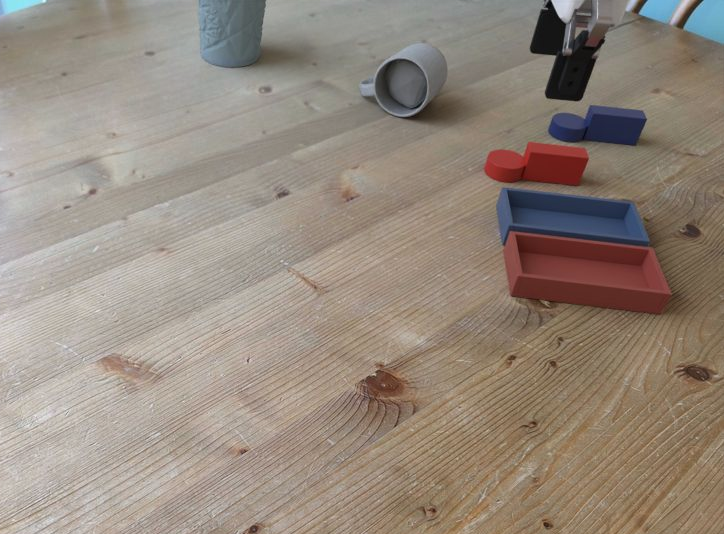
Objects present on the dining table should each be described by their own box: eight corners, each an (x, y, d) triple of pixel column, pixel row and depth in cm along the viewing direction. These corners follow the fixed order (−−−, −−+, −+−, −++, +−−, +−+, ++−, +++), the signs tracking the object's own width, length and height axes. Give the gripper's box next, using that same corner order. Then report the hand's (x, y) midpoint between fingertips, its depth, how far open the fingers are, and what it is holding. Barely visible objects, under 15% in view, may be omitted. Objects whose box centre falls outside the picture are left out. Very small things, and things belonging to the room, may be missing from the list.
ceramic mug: (445, 100, 100) (457, 43, 95) (423, 124, 95) (434, 65, 90) (372, 81, 104) (380, 25, 99) (347, 103, 99) (354, 45, 94)
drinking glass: (183, 59, 106) (181, -31, 98) (213, 35, 113) (214, -52, 104) (249, 75, 103) (253, -17, 95) (276, 48, 110) (282, -40, 102)
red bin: (642, 267, 76) (653, 247, 74) (660, 314, 70) (672, 294, 69) (503, 250, 77) (509, 230, 75) (510, 296, 71) (517, 275, 70)
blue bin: (625, 221, 82) (634, 201, 80) (640, 261, 76) (650, 241, 75) (495, 206, 83) (501, 186, 81) (502, 245, 77) (508, 225, 76)
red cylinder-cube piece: (573, 170, 89) (584, 143, 86) (579, 190, 86) (591, 162, 83) (482, 160, 90) (490, 133, 87) (485, 180, 86) (493, 152, 84)
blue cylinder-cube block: (629, 132, 96) (641, 106, 94) (637, 149, 93) (649, 122, 91) (545, 123, 97) (554, 97, 95) (550, 140, 94) (559, 113, 92)
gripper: (708, -109, 51) (614, 123, 63) (645, -160, 64) (577, 42, 75) (596, -118, 52) (524, 114, 64) (556, -167, 64) (502, 35, 76)
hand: (553, 75), depth 70 cm, fingers open, 9 cm apart
